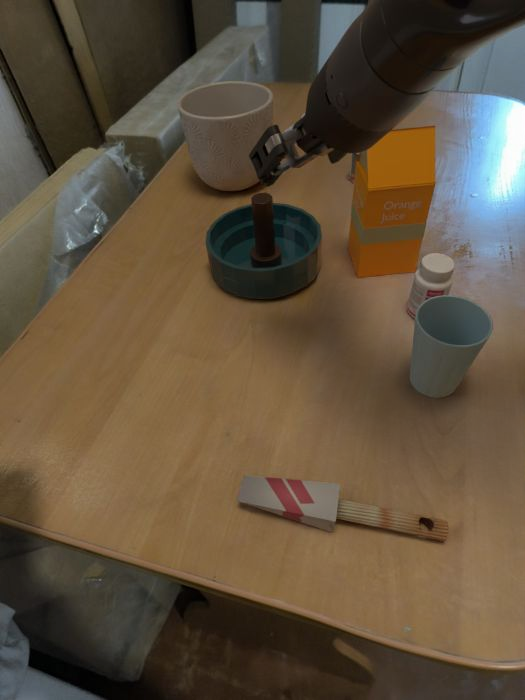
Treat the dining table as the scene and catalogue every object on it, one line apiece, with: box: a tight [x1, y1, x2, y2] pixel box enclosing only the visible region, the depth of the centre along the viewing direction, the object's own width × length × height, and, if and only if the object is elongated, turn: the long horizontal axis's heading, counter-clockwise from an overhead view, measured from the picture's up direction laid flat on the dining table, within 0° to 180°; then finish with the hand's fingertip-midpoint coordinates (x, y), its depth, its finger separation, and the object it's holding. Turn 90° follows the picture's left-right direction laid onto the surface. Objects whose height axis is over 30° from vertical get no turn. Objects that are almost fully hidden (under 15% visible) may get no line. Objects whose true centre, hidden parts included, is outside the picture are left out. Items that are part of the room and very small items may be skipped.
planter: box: [176, 80, 274, 192], centre depth 85 cm, size 17×17×15 cm
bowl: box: [204, 202, 323, 300], centre depth 70 cm, size 17×17×6 cm
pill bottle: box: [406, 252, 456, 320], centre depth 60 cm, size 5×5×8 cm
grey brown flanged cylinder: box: [250, 192, 282, 268], centre depth 67 cm, size 5×5×11 cm
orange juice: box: [347, 125, 437, 278], centre depth 64 cm, size 8×9×20 cm
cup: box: [409, 294, 494, 399], centre depth 51 cm, size 8×8×10 cm
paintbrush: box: [236, 474, 449, 542], centre depth 44 cm, size 4×3×20 cm
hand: (298, 166), depth 51 cm, fingers open, 8 cm apart
